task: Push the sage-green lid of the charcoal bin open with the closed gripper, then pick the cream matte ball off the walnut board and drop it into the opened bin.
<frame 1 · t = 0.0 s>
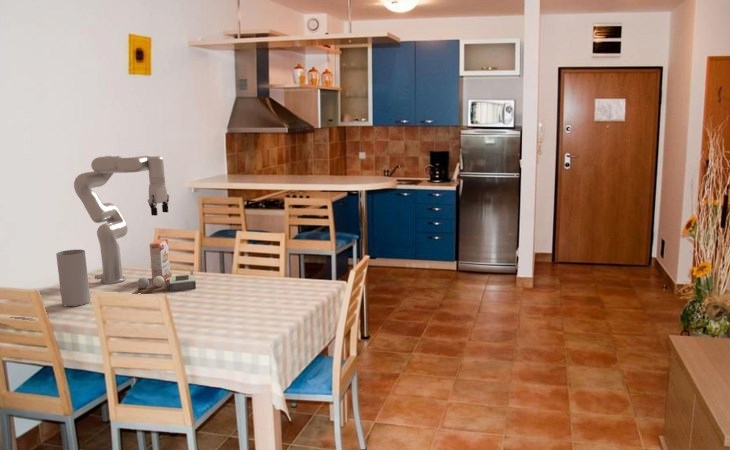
hand: (160, 213, 352), 37 cm above the table, tool pointing down, fingers open, 9 cm apart
cracker box: (161, 279, 369), on the table
cylinder vase: (76, 303, 328), on the table
lid: (182, 277, 351), point 5 cm above the table, slide at 0.0 cm
cream matte ball: (158, 281, 347), point 4 cm above the table, touching board
bin: (182, 286, 352), on the table
grey matte ball: (143, 283, 345), point 4 cm above the table, touching board
board: (152, 290, 347), on the table
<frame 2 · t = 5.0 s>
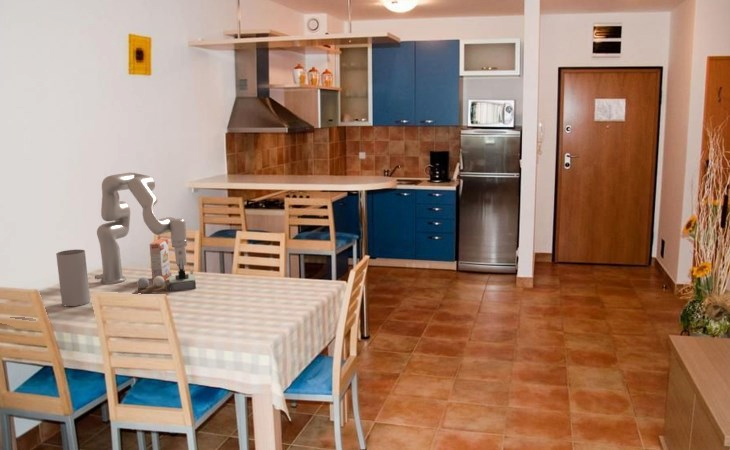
hand: (182, 278, 348), 5 cm above the table, tool pointing down, fingers closed
lid: (181, 276, 352), point 5 cm above the table, slide at 1.6 cm, touching gripper
everything else where it was.
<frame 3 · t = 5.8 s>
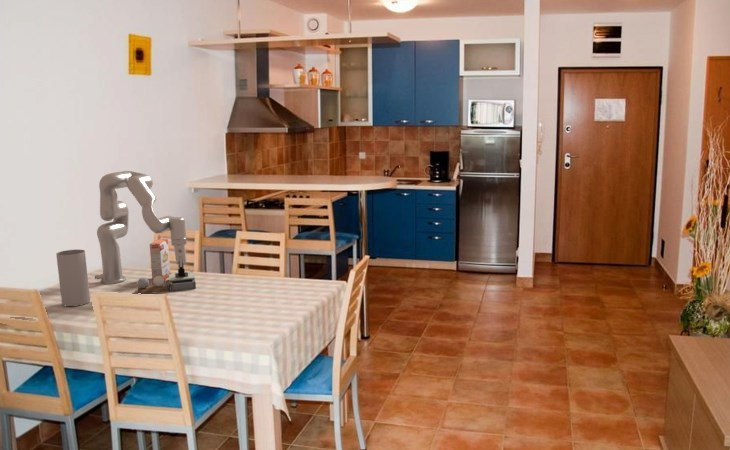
hand: (181, 276, 353), 5 cm above the table, tool pointing down, fingers closed
lid: (181, 274, 357), point 5 cm above the table, slide at 6.2 cm, touching gripper
everything else where it was.
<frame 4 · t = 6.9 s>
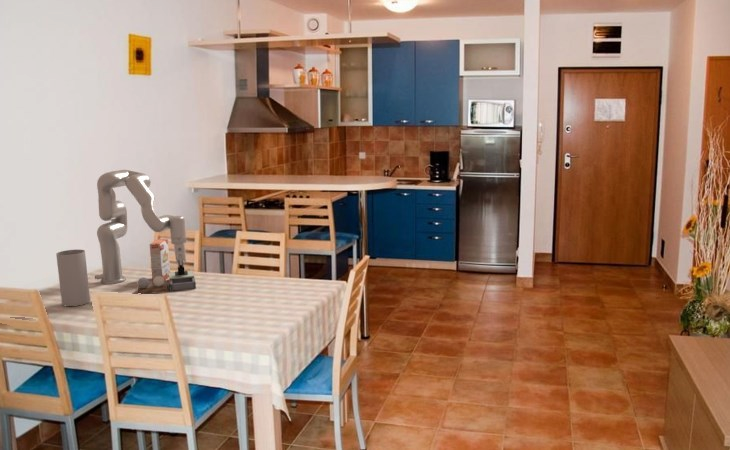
hand: (181, 274, 356), 5 cm above the table, tool pointing down, fingers closed
lid: (181, 273, 360), point 5 cm above the table, slide at 10.0 cm, touching gripper
everything else where it was.
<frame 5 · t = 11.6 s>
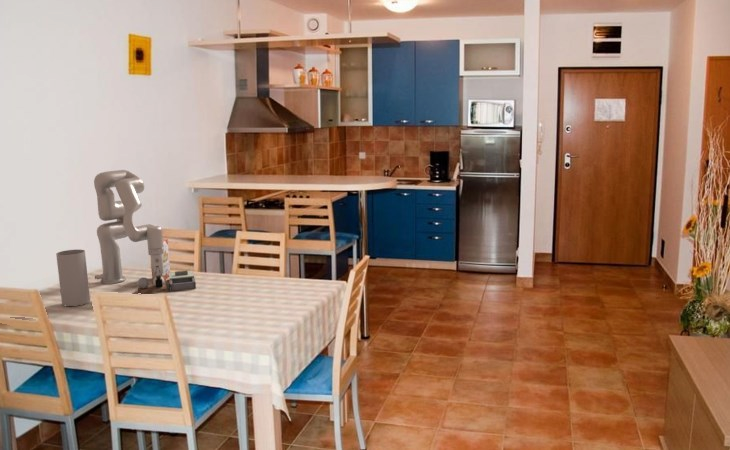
hand: (159, 285, 347), 2 cm above the table, tool pointing down, fingers closed on cream matte ball, 5 cm apart
lid: (181, 273, 360), point 5 cm above the table, slide at 10.1 cm
cream matte ball: (158, 281, 347), point 4 cm above the table, touching board, gripper
everything else where it was.
when the fingers open (4 cm above the table, at t = 16.2 s): cream matte ball drops 2 cm, resting on bin.
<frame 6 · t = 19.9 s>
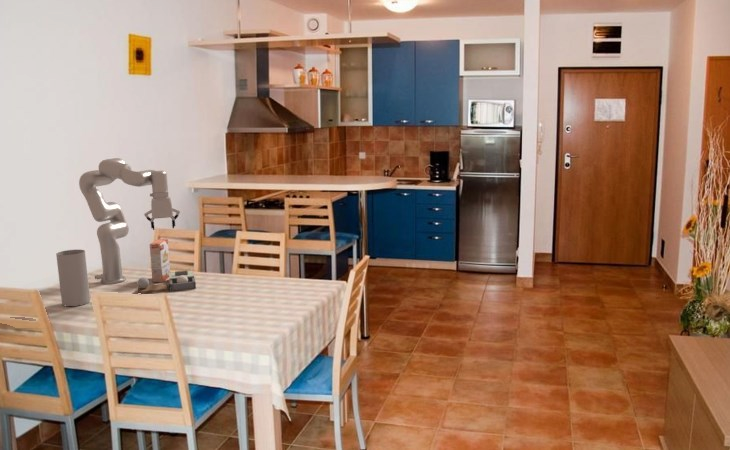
hand: (163, 228, 348), 30 cm above the table, tool pointing down, fingers open, 9 cm apart
cream matte ball: (182, 280, 351), point 3 cm above the table, touching bin
everything else where it was.
at the end: cream matte ball inside the target area on the bin (0.3 cm from its centre), point 3.4 cm above the bin's base; lid slide at 10.1 cm; the gripper is holding nothing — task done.
